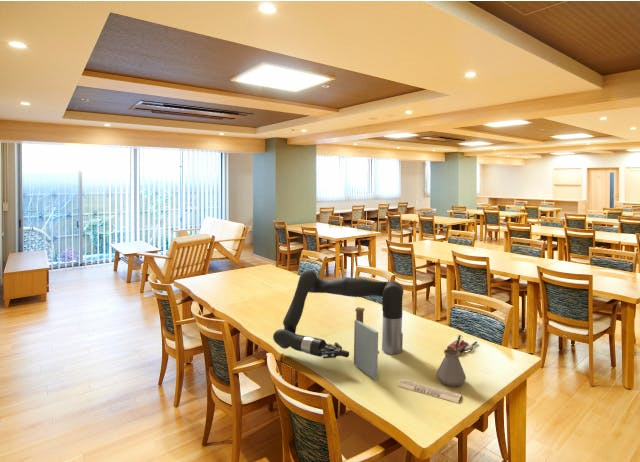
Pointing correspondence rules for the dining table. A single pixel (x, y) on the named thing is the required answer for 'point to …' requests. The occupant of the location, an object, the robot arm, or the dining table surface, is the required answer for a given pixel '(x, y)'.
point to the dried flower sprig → (461, 346)
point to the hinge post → (359, 314)
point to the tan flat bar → (429, 390)
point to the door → (366, 348)
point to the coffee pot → (451, 368)
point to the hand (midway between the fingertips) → (348, 354)
